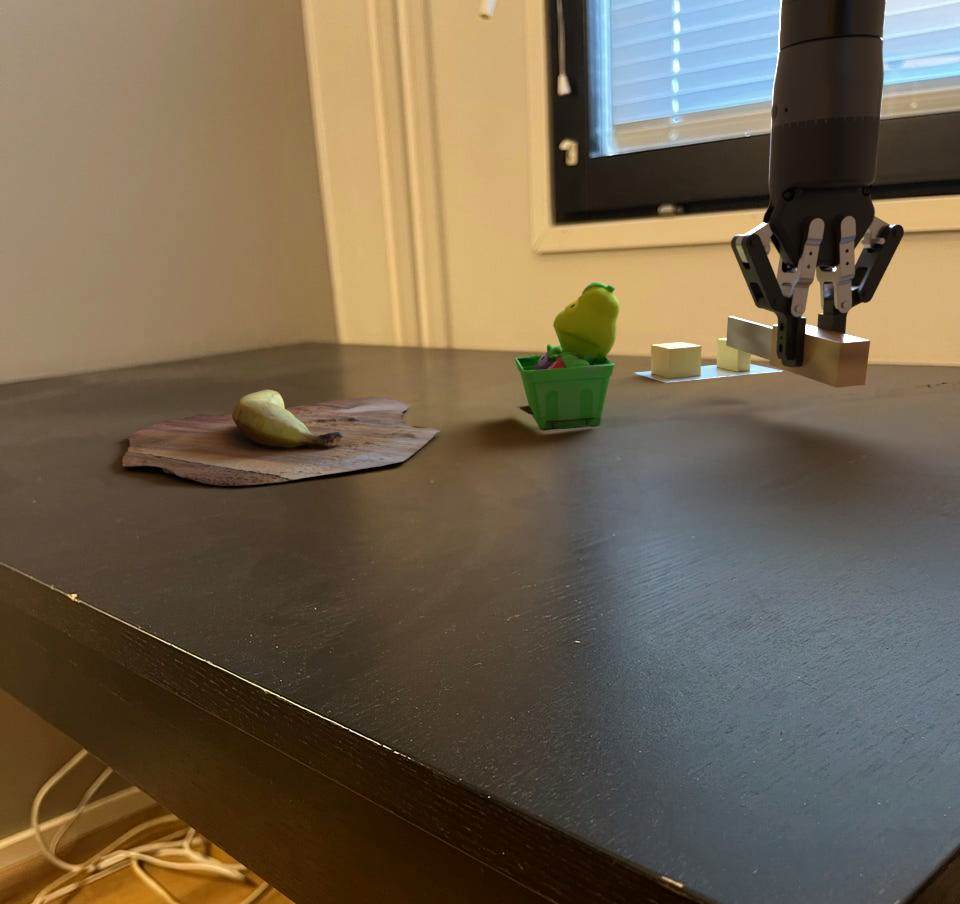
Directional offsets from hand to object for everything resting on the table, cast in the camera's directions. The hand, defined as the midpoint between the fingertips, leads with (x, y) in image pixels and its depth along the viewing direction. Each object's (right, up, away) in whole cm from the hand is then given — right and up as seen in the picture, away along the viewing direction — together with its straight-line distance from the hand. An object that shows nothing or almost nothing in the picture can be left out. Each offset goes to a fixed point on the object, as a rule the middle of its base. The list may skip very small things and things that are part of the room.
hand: (809, 363), depth 78 cm
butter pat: (+1, +7, +27) cm, 28 cm away
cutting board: (-43, -4, +9) cm, 44 cm away
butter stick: (-5, +6, +26) cm, 27 cm away
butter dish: (-2, +6, +27) cm, 28 cm away
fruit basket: (-18, -2, +10) cm, 21 cm away
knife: (-1, +1, +4) cm, 4 cm away
